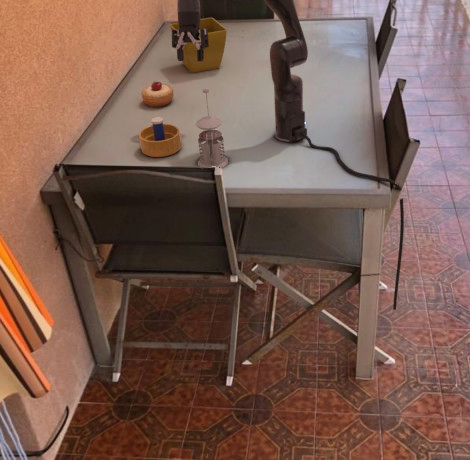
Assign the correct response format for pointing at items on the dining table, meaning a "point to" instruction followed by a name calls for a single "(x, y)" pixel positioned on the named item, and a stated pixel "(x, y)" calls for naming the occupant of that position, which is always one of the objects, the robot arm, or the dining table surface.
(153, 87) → the pastry
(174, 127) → the bowl
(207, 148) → the french press
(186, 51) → the flower pot
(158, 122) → the vial
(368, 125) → the dining table surface
